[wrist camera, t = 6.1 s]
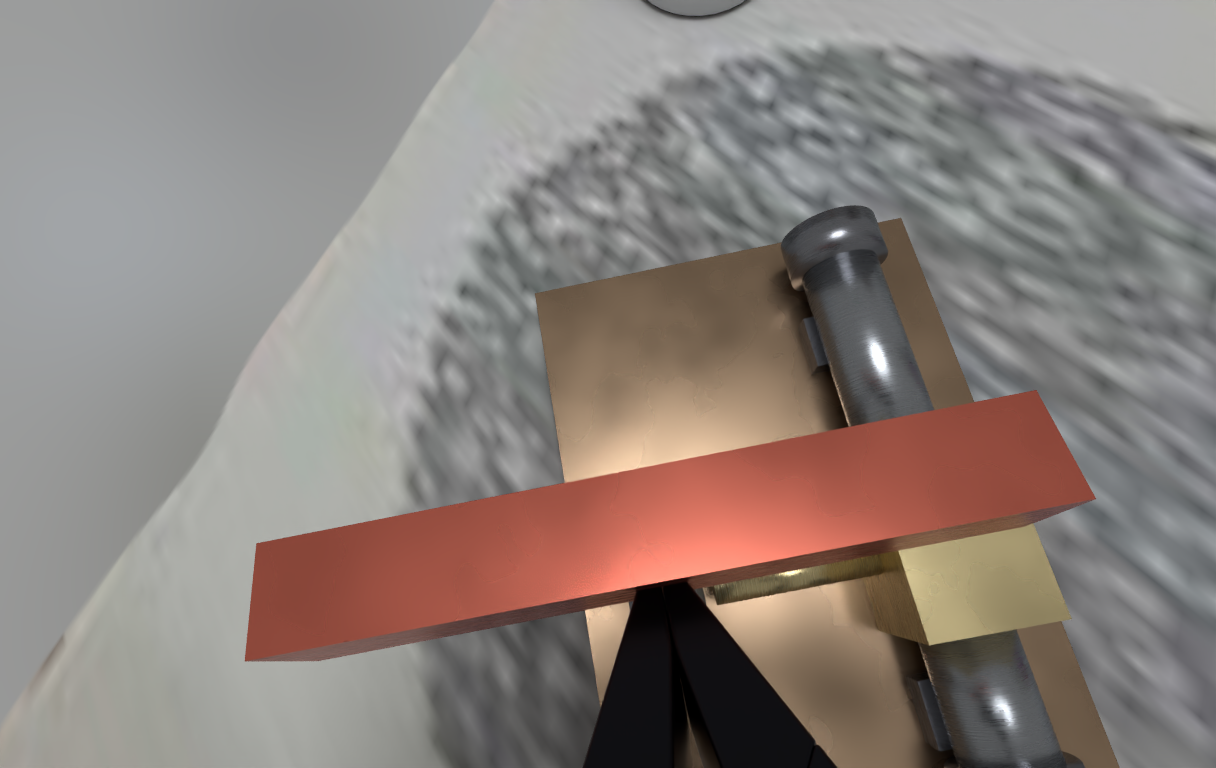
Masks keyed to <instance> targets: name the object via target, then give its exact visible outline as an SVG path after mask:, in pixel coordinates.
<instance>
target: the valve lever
mask: <svg viewBox="0 0 1216 768" xmlns="http://www.w3.org/2000/svg"><path fill="white" fill-rule="evenodd" d="M1094 499H1096V498H1095V496H1094V494H1093V492H1092V491H1091V489H1090V487H1089V485H1088V483H1087V481H1086V480H1085V478H1084V476H1083V474H1082V472H1081V471H1080V469H1079V467H1078V465H1077V463H1076V461H1075V460H1074V458H1073V456H1072V454H1071V452H1070V450H1069V449H1068V447H1067V445H1066V443H1065V441H1064V440H1063V438H1062V436H1061V434H1060V432H1059V430H1058V429H1057V427H1056V425H1055V423H1054V421H1053V420H1052V418H1051V416H1050V414H1049V412H1048V410H1047V409H1046V407H1045V405H1044V403H1043V401H1042V400H1041V398H1040V396H1039V394H1038V392H1037V390H1034V391H1029V392H1024V393H1019V394H1014V395H1009V396H1004V397H999V398H994V399H989V400H984V401H978V402H973V403H968V404H963V405H958V406H953V407H948V408H943V409H938V410H933V411H928V412H923V413H917V414H912V415H907V416H902V417H897V418H892V419H887V420H882V421H877V422H872V423H867V424H862V425H856V426H851V427H846V428H841V429H836V430H831V431H826V432H821V433H816V434H811V435H806V436H800V437H795V438H790V439H785V440H780V441H775V442H770V443H765V444H760V445H755V446H750V447H745V448H739V449H734V450H729V451H724V452H719V453H714V454H709V455H704V456H699V457H694V458H689V459H684V460H678V461H673V462H668V463H663V464H658V465H653V466H648V467H643V468H638V469H633V470H628V471H623V472H617V473H612V474H607V475H602V476H597V477H592V478H587V479H582V480H577V481H572V482H567V483H562V484H556V485H551V486H546V487H541V488H536V489H531V490H526V491H521V492H516V493H511V494H506V495H501V496H495V497H490V498H485V499H480V500H475V501H470V502H465V503H460V504H455V505H450V506H445V507H439V508H434V509H429V510H424V511H419V512H414V513H409V514H404V515H399V516H394V517H389V518H384V519H378V520H373V521H368V522H363V523H358V524H353V525H348V526H343V527H338V528H333V529H328V530H323V531H317V532H312V533H307V534H302V535H297V536H292V537H287V538H282V539H277V540H272V541H267V542H262V543H256V553H255V564H254V574H253V584H252V594H251V604H250V614H249V624H248V634H247V644H246V654H245V661H321V660H326V659H331V658H337V657H342V656H347V655H352V654H358V653H363V652H368V651H373V650H379V649H384V648H389V647H394V646H400V645H405V644H410V643H415V642H421V641H426V640H431V639H437V638H442V637H447V636H452V635H458V634H463V633H468V632H473V631H479V630H484V629H489V628H494V627H500V626H505V625H510V624H515V623H521V622H526V621H531V620H536V619H542V618H547V617H552V616H558V615H563V614H568V613H573V612H579V611H584V610H589V609H594V608H600V607H605V606H610V605H615V604H621V603H626V602H629V607H630V610H631V607H632V604H633V600H634V597H635V594H636V592H637V591H642V590H647V589H652V588H658V587H661V588H662V587H664V586H668V585H673V584H678V583H684V582H688V583H689V584H690V585H691V587H692V588H693V589H694V590H695V591H696V593H697V594H698V595H699V596H700V598H701V599H702V600H703V601H704V603H705V604H706V599H705V594H704V590H703V588H705V587H710V586H715V585H721V584H726V583H731V582H736V581H742V580H747V579H752V578H757V577H763V576H768V575H773V574H778V573H784V572H789V571H794V570H799V569H805V568H810V567H815V566H820V565H826V564H831V563H836V562H842V561H847V560H852V559H857V558H863V557H868V556H873V555H878V554H884V553H889V552H894V551H899V550H905V549H910V548H915V547H920V546H926V545H931V544H936V543H941V542H947V541H952V540H957V539H963V538H968V537H973V536H978V535H984V534H989V533H994V532H999V531H1005V530H1010V529H1015V528H1020V527H1025V526H1027V525H1030V524H1033V523H1035V522H1038V521H1040V520H1043V519H1045V518H1048V517H1051V516H1053V515H1056V514H1058V513H1061V512H1064V511H1066V510H1069V509H1071V508H1074V507H1076V506H1079V505H1082V504H1084V503H1087V502H1089V501H1092V500H1094ZM662 590H663V588H662ZM663 595H664V594H663ZM664 600H665V599H664ZM665 605H666V604H665ZM706 605H707V604H706Z"/></svg>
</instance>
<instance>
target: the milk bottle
mask: <svg viewBox="0 0 1216 768" xmlns="http://www.w3.org/2000/svg"><path fill="white" fill-rule="evenodd" d="M648 1H649V2H650V3H651V4H653V5H655V6H657V7H659V8H660V9H662V10H665V11H669V12H671V13H674V14H681V15H686V16H703V15H710V14H716V13H719V12H722V11H726V10H729V9H731V8H733V7H735V6H737V5H739V4H741V3H742V2H744V1H745V0H648Z"/></svg>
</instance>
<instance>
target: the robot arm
mask: <svg viewBox="0 0 1216 768" xmlns="http://www.w3.org/2000/svg"><path fill="white" fill-rule="evenodd" d="M662 588H663V590H662ZM662 588H661V587H658V588H652V589H647V590H642V591H637V592H636V594H635V597H634V600H633V604H632V607H631V610H630V613H629V617H628V620H627V623H626V626H625V630H624V633H623V636H622V639H621V643H620V646H619V649H618V653H617V656H616V659H615V662H614V666H613V669H612V672H611V675H610V679H609V682H608V685H607V688H606V692H605V695H604V698H603V701H602V705H601V708H600V711H599V714H598V718H597V721H596V724H595V727H594V731H593V734H592V737H591V740H590V744H589V747H588V750H587V754H586V757H585V760H584V763H583V767H582V768H693V764H692V752H691V740H690V731H689V722H688V717H689V721H690V725H691V729H692V732H693V736H694V739H695V742H696V745H697V749H698V752H699V755H700V758H701V761H702V764H703V767H704V768H838V767H837V766H836V765H835V764H834V762H833V761H832V760H831V759H830V757H829V756H828V755H827V754H826V752H825V751H824V750H823V749H822V747H821V746H820V745H816V741H815V739H814V738H813V737H812V735H811V734H810V733H809V732H808V730H807V729H806V728H805V727H804V725H803V724H802V723H801V722H800V721H799V719H798V718H797V717H796V716H795V714H794V713H793V712H792V711H791V709H790V708H789V707H788V706H787V704H786V703H785V702H784V701H783V699H782V698H781V697H780V696H779V694H778V693H777V692H776V691H775V689H774V688H773V687H772V686H771V685H770V683H769V682H768V681H767V680H766V678H765V677H764V676H763V675H762V673H761V672H760V671H759V670H758V668H757V667H756V666H755V665H754V663H753V662H752V661H751V660H750V658H749V657H748V656H747V655H746V654H745V652H744V651H743V650H742V649H741V647H740V646H739V645H738V644H737V642H736V641H735V640H734V639H733V637H732V636H731V635H730V634H729V632H728V631H727V630H726V629H725V627H724V626H723V625H722V624H721V622H720V621H719V620H718V619H717V618H716V616H715V615H714V614H713V613H712V611H711V610H710V609H709V608H708V606H707V605H706V604H705V603H704V601H703V600H702V599H701V598H700V596H699V595H698V594H697V593H696V591H695V590H694V589H693V588H692V587H691V585H690V584H689V583H688V582H684V583H678V584H673V585H668V586H664V587H662ZM663 594H664V595H663ZM664 599H665V600H664ZM665 604H666V605H665ZM679 674H680V675H679ZM680 679H681V680H680ZM681 684H682V685H681ZM682 689H683V690H682ZM683 694H684V695H683ZM684 699H685V700H684ZM685 703H686V705H685ZM686 708H687V710H686ZM687 713H688V716H687Z"/></svg>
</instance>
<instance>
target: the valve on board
mask: <svg viewBox="0 0 1216 768" xmlns="http://www.w3.org/2000/svg"><path fill="white" fill-rule="evenodd" d="M535 297H536V303H537V309H538V316H539V322H540V328H541V335H542V341H543V347H544V354H545V360H546V366H547V373H548V379H549V385H550V392H551V398H552V404H553V411H554V417H555V423H556V430H557V436H558V442H559V449H560V455H561V462H562V468H563V474H564V481H565V483H567V482H572V481H577V480H582V479H587V478H592V477H597V476H602V475H607V474H612V473H617V472H623V471H628V470H633V469H638V468H643V467H648V466H653V465H658V464H663V463H668V462H673V461H678V460H684V459H689V458H694V457H699V456H704V455H709V454H714V453H719V452H724V451H729V450H734V449H739V448H745V447H750V446H755V445H760V444H765V443H770V442H775V441H780V440H785V439H790V438H795V437H800V436H806V435H811V434H816V433H821V432H826V431H831V430H836V429H841V428H846V427H851V426H856V425H862V424H867V423H872V422H877V421H882V420H887V419H892V418H897V417H902V416H907V415H912V414H917V413H923V412H928V411H933V410H938V409H943V408H948V407H953V406H958V405H963V404H968V403H973V402H974V400H973V398H972V395H971V393H970V390H969V388H968V385H967V383H966V380H965V378H964V375H963V373H962V370H961V368H960V365H959V362H958V360H957V357H956V355H955V352H954V350H953V347H952V345H951V342H950V340H949V337H948V335H947V332H946V330H945V327H944V325H943V322H942V320H941V317H940V315H939V312H938V310H937V307H936V305H935V302H934V300H933V297H932V295H931V292H930V289H929V287H928V284H927V282H926V279H925V277H924V274H923V272H922V269H921V267H920V264H919V262H918V259H917V257H916V254H915V252H914V249H913V247H912V244H911V242H910V239H909V237H908V234H907V232H906V229H905V227H904V224H903V222H902V219H901V218H898V219H893V220H889V221H884V222H879V223H877V220H876V218H875V215H874V213H873V211H872V210H871V209H869V208H867V207H864V206H844V207H839V208H834V209H831V210H828V211H825V212H822V213H820V214H817V215H815V216H813V217H811V218H809V219H807V220H805V221H804V222H802V223H800V224H799V225H797V226H796V227H795V228H794V229H792V230H791V231H790V232H789V233H788V234H787V235H786V236H785V238H784V239H783V241H782V243H777V244H772V245H768V246H763V247H758V248H753V249H748V250H743V251H738V252H734V253H729V254H724V255H719V256H714V257H709V258H705V259H700V260H695V261H690V262H685V263H680V264H676V265H671V266H666V267H661V268H656V269H651V270H646V271H642V272H637V273H632V274H627V275H622V276H617V277H613V278H608V279H603V280H598V281H593V282H588V283H583V284H579V285H574V286H569V287H564V288H559V289H554V290H550V291H545V292H540V293H535ZM703 590H704V594H705V599H706V604H707V606H708V608H709V609H710V610H711V611H712V613H713V614H714V615H715V616H716V618H717V619H718V620H719V621H720V622H721V624H722V625H723V626H724V627H725V629H726V630H727V631H728V632H729V634H730V635H731V636H732V637H733V639H734V640H735V641H736V642H737V644H738V645H739V646H740V647H741V649H742V650H743V651H744V652H745V654H746V655H747V656H748V657H749V658H750V660H751V661H752V662H753V663H754V665H755V666H756V667H757V668H758V670H759V671H760V672H761V673H762V675H763V676H764V677H765V678H766V680H767V681H768V682H769V683H770V685H771V686H772V687H773V688H774V689H775V691H776V692H777V693H778V694H779V696H780V697H781V698H782V699H783V701H784V702H785V703H786V704H787V706H788V707H789V708H790V709H791V711H792V712H793V713H794V714H795V716H796V717H797V718H798V719H799V721H800V722H801V723H802V724H803V725H804V727H805V728H806V729H807V730H808V732H809V733H810V734H811V735H812V737H813V738H814V739H815V741H816V745H820V746H821V747H822V749H823V750H824V751H825V752H826V754H827V755H828V756H829V757H830V759H831V760H832V761H833V762H834V764H835V765H836V766H837V767H838V768H1119V765H1118V763H1117V760H1116V758H1115V755H1114V753H1113V750H1112V748H1111V745H1110V742H1109V740H1108V737H1107V735H1106V732H1105V730H1104V727H1103V725H1102V722H1101V720H1100V717H1099V715H1098V712H1097V710H1096V707H1095V705H1094V702H1093V700H1092V697H1091V695H1090V692H1089V690H1088V687H1087V685H1086V682H1085V680H1084V677H1083V675H1082V672H1081V670H1080V667H1079V664H1078V662H1077V659H1076V657H1075V654H1074V652H1073V649H1072V647H1071V644H1070V642H1069V639H1068V637H1067V634H1066V632H1065V629H1064V627H1063V624H1062V622H1061V621H1064V620H1069V619H1072V618H1071V616H1070V614H1069V611H1068V609H1067V606H1066V604H1065V601H1064V599H1063V596H1062V594H1061V591H1060V589H1059V586H1058V584H1057V581H1056V579H1055V576H1054V574H1053V571H1052V569H1051V566H1050V564H1049V561H1048V559H1047V556H1046V554H1045V551H1044V549H1043V547H1042V544H1041V542H1040V539H1039V537H1038V534H1037V532H1036V529H1035V527H1034V524H1030V525H1027V526H1025V527H1020V528H1015V529H1010V530H1005V531H999V532H994V533H989V534H984V535H978V536H973V537H968V538H963V539H957V540H952V541H947V542H941V543H936V544H931V545H926V546H920V547H915V548H910V549H905V550H899V551H894V552H889V553H884V554H878V555H873V556H868V557H863V558H857V559H852V560H847V561H842V562H836V563H831V564H826V565H820V566H815V567H810V568H805V569H799V570H794V571H789V572H784V573H778V574H773V575H768V576H763V577H757V578H752V579H747V580H742V581H736V582H731V583H726V584H721V585H715V586H710V587H705V588H703ZM629 613H630V607H629V602H626V603H621V604H615V605H610V606H605V607H600V608H594V609H589V610H585V614H586V620H587V626H588V633H589V639H590V645H591V652H592V658H593V664H594V671H595V677H596V683H597V690H598V696H599V702H600V708H601V705H602V701H603V698H604V695H605V692H606V688H607V685H608V682H609V679H610V675H611V672H612V669H613V666H614V662H615V659H616V656H617V653H618V649H619V646H620V643H621V639H622V636H623V633H624V630H625V626H626V623H627V620H628V617H629ZM679 675H680V674H679ZM680 680H681V679H680ZM681 685H682V684H681ZM682 690H683V689H682ZM683 695H684V694H683ZM684 700H685V699H684ZM685 705H686V703H685ZM686 710H687V708H686ZM687 716H688V713H687ZM688 722H689V731H690V740H691V752H692V764H693V768H704V767H703V764H702V761H701V758H700V755H699V752H698V749H697V745H696V742H695V739H694V736H693V732H692V729H691V725H690V721H689V717H688Z"/></svg>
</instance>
